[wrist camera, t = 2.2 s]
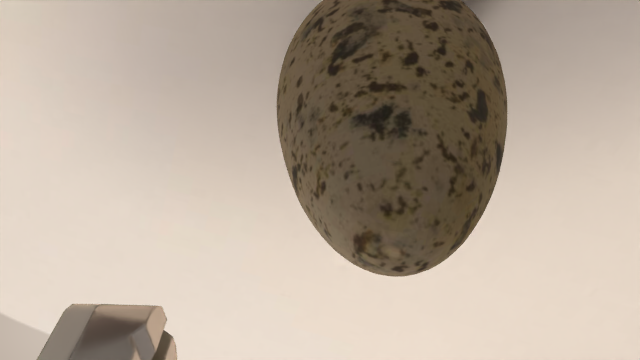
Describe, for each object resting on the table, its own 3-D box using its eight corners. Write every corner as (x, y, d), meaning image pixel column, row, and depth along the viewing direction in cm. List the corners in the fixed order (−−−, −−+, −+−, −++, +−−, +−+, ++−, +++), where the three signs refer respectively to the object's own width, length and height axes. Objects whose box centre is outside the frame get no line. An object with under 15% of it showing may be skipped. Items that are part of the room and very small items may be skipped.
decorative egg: (402, 146, 21) (425, 388, 13) (261, 62, 19) (186, 280, 11) (518, 15, 18) (646, 227, 10) (361, -99, 16) (356, 42, 8)
